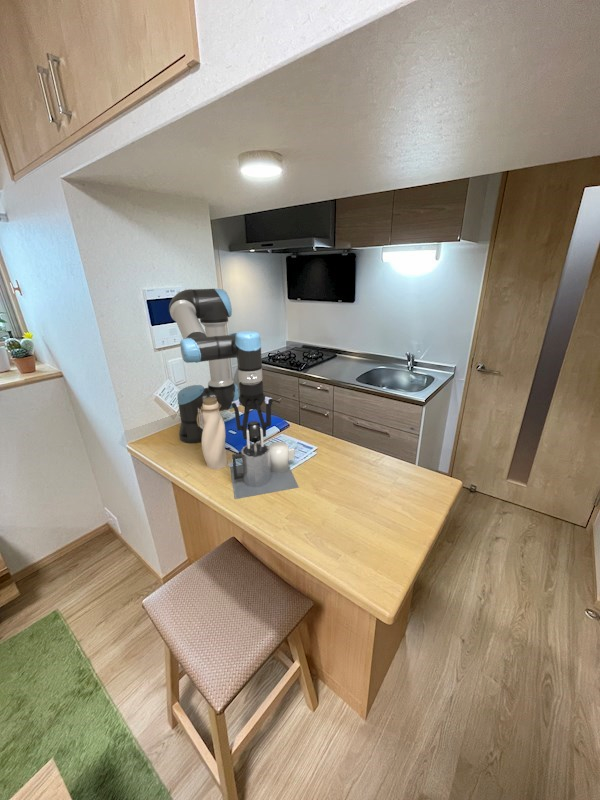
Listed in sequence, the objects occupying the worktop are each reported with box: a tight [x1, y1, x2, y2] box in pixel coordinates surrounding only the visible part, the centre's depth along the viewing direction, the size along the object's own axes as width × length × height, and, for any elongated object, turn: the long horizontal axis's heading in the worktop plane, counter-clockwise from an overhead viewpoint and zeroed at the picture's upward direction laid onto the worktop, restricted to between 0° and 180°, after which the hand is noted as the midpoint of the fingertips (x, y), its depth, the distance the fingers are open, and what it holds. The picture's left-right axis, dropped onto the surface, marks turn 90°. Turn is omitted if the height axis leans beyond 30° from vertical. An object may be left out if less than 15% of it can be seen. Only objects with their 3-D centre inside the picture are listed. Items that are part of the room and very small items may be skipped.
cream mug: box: [268, 441, 296, 473], centre depth 119 cm, size 8×10×9 cm
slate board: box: [229, 464, 300, 500], centre depth 116 cm, size 20×22×1 cm
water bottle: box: [197, 397, 228, 471], centre depth 118 cm, size 10×9×28 cm
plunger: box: [247, 420, 261, 456], centre depth 110 cm, size 7×7×19 cm
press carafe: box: [231, 442, 271, 487], centre depth 111 cm, size 10×13×12 cm
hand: (255, 445), depth 109 cm, fingers closed on plunger, 4 cm apart
